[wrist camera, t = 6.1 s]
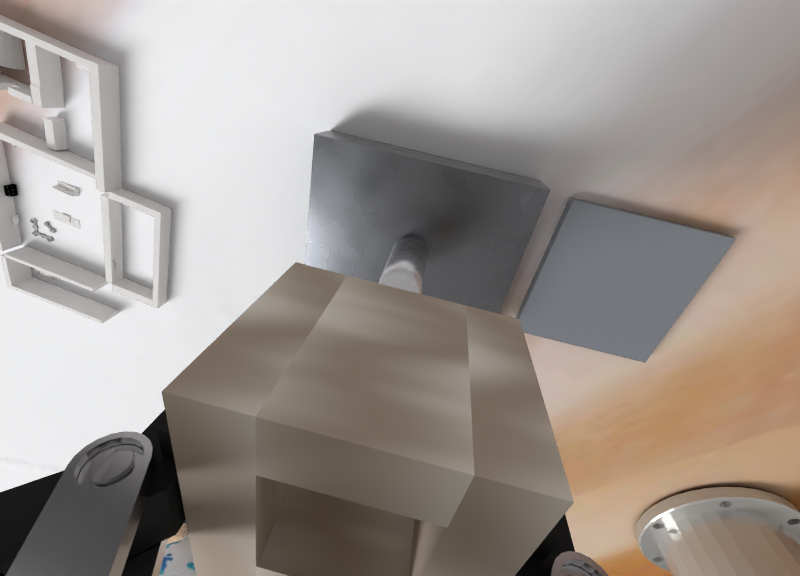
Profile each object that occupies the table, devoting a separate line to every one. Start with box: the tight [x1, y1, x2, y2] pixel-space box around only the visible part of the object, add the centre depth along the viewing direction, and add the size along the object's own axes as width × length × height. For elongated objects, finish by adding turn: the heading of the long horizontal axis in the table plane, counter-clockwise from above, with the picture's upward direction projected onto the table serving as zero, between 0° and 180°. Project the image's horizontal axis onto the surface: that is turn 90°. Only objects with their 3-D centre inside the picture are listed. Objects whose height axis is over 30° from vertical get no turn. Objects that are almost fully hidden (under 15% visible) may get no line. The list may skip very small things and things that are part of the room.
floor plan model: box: [0, 15, 172, 323], centre depth 23 cm, size 19×25×2 cm
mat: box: [516, 198, 736, 362], centre depth 21 cm, size 9×9×1 cm
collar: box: [162, 263, 574, 576], centre depth 9 cm, size 6×6×5 cm
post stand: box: [305, 131, 550, 313], centre depth 18 cm, size 12×10×8 cm
